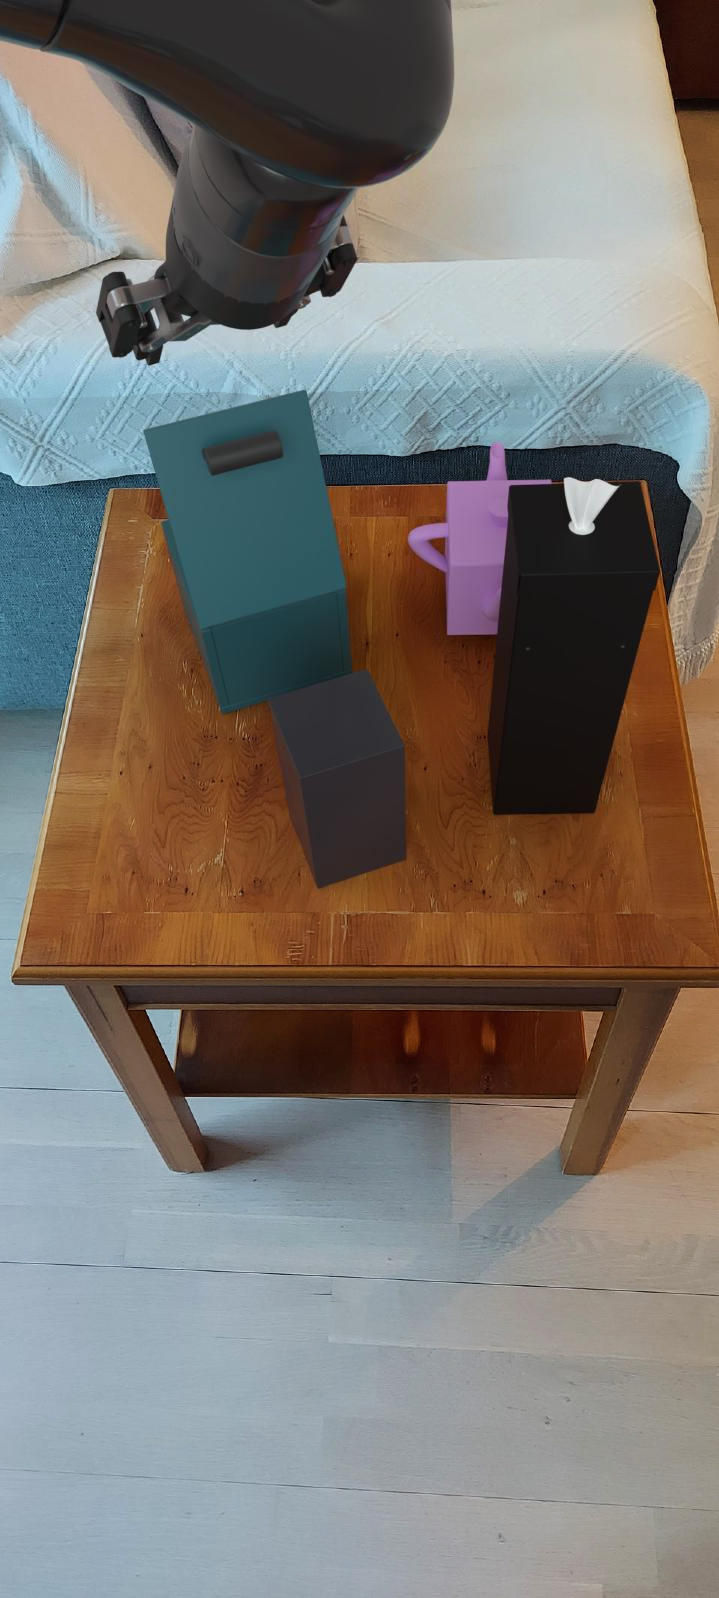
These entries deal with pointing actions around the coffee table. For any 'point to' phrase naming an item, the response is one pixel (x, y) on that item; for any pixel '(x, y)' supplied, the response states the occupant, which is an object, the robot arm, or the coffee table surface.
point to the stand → (342, 776)
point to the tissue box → (566, 640)
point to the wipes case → (269, 645)
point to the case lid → (248, 507)
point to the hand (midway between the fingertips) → (211, 329)
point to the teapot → (472, 547)
